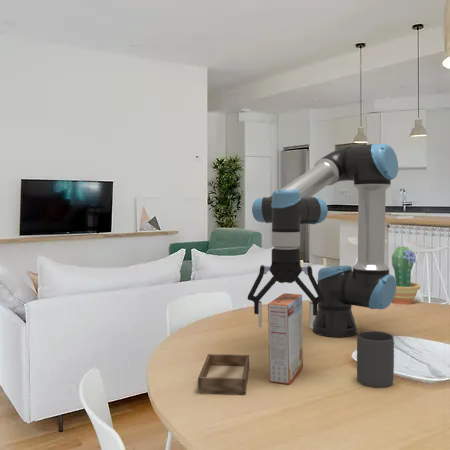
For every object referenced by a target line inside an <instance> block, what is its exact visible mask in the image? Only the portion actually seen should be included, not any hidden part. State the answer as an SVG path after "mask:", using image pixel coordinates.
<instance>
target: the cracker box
mask: <svg viewBox="0 0 450 450" xmlns="http://www.w3.org/2000/svg"><path fill="white" fill-rule="evenodd" d="M267 321H268V322H267V323H268V324H267V325H268V327H267V329H268V332H267V333H268V369H269V371H268V372H269V373H268V374H269V375H268V377H269V383H277V384H285V385H290V384H291V383H292V382H293V381H294V379H296V377H297V376H298V375H299V373H300V372H301V370H302V369H303V368H304V338H303V333H304V330H303V325H304V324H303V294H299V293H286V292H285V293H282V294H280V295H279V296H278V297H276V298H274V299H273V300H272V301H270V302H269V303H267Z"/></svg>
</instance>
